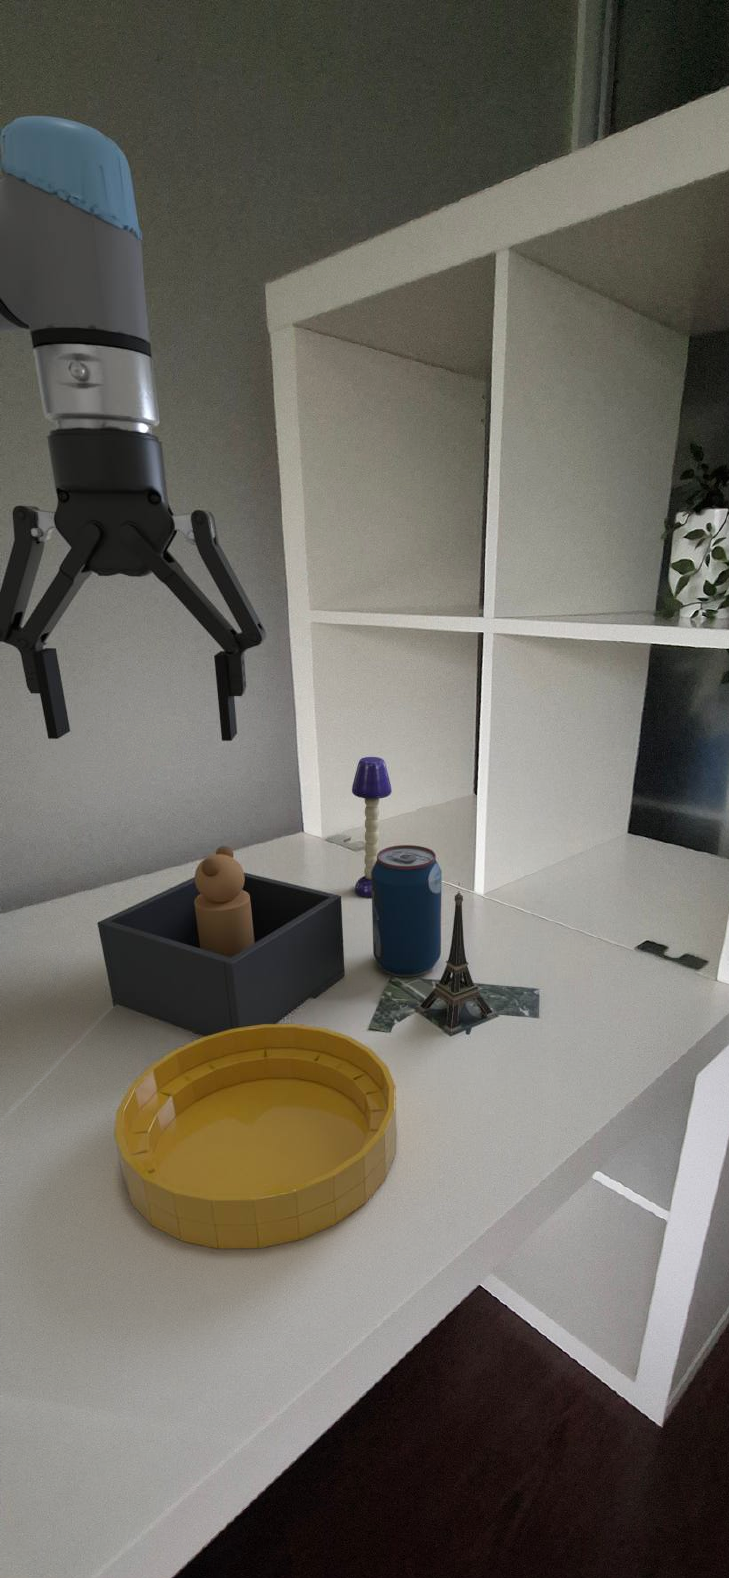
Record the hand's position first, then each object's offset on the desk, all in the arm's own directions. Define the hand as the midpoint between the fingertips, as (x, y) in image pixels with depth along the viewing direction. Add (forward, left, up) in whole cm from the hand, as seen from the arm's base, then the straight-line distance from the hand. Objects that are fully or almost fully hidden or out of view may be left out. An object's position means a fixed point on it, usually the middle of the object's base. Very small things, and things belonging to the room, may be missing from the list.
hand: (145, 736), depth 65 cm
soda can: (+15, +17, -25) cm, 34 cm away
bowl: (+20, -12, -25) cm, 34 cm away
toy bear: (+3, +4, -24) cm, 25 cm away
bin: (+3, +4, -25) cm, 26 cm away
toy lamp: (+2, +31, -25) cm, 40 cm away
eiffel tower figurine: (+24, +11, -25) cm, 36 cm away
